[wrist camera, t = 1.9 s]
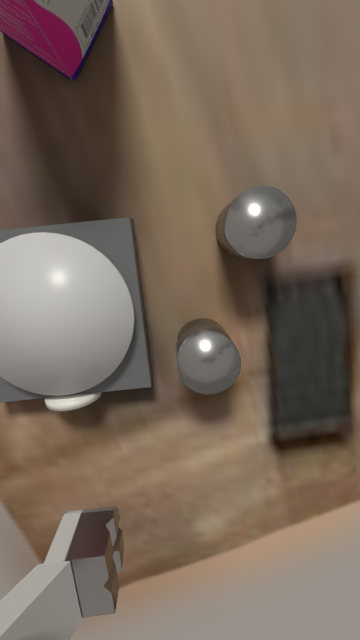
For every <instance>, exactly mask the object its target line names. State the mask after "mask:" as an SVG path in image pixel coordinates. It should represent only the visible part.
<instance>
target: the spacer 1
mask: <svg viewBox="0 0 360 640" xmlns="http://www.w3.org/2000/svg"><path fill="white" fill-rule="evenodd" d="M176 348H177V368H178V373H179V376H180V378H181V380H182V381H183V383H184V384H185V385H186V386H187V387H188V388H190V389H191V390H193V391H195V392H197V393H201V394H216V393H219V392H222V391H224V390H226V389H227V388H229V387H230V386H231V385H232V384H233V383H234V382H235V380H236V379H237V377H238V375H239V372H240V369H241V358H240V354H239V352H238V350H237V348H236V346H235V345H234V343H233V342H232V340H231V339H230V337H229V336H228V335H227V333H226V332H225V330H224V329H223V327H222V326H221V325H220V324H218V323H217V322H215V321H213V320H210V319H196V320H193V321H191V322H189V323H187V324H186V325H185V326H184V327H183V328H182V329H181V330H180V332H179V334H178V337H177V341H176Z"/></svg>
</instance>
